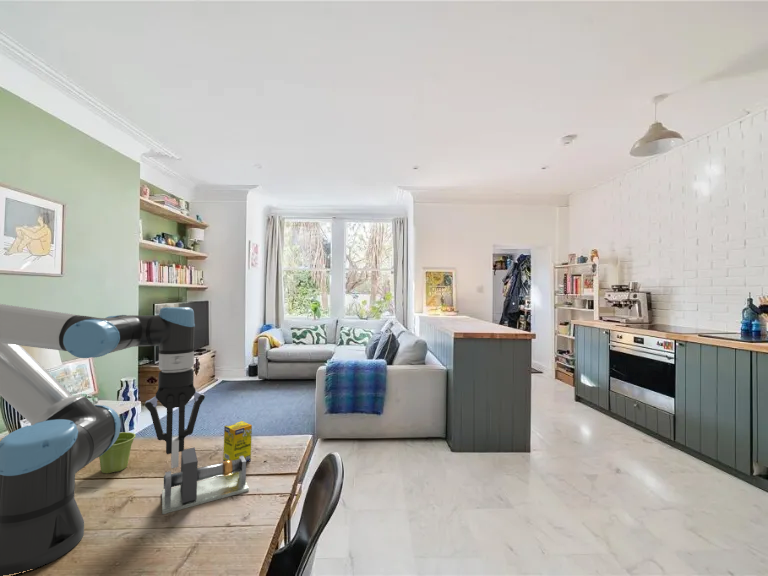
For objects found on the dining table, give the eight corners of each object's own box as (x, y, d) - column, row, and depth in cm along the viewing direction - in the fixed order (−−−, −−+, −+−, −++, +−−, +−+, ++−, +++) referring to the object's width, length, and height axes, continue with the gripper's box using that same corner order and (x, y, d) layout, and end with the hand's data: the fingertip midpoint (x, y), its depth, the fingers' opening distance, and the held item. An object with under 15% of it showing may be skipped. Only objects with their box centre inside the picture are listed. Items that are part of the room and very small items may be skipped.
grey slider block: (182, 503, 83) (183, 464, 84) (180, 485, 91) (181, 449, 91) (196, 499, 85) (197, 461, 85) (193, 482, 93) (194, 447, 93)
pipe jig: (162, 514, 81) (163, 484, 81) (162, 493, 89) (162, 466, 89) (248, 491, 91) (249, 464, 91) (241, 474, 99) (241, 450, 100)
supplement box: (233, 467, 103) (234, 430, 103) (222, 461, 107) (223, 425, 107) (251, 460, 108) (252, 424, 108) (240, 455, 111) (241, 420, 112)
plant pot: (142, 462, 106) (143, 433, 106) (115, 478, 96) (116, 446, 97) (113, 460, 107) (115, 431, 107) (84, 475, 97) (85, 444, 98)
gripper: (144, 375, 80) (141, 479, 80) (207, 369, 87) (205, 465, 87) (145, 369, 87) (143, 465, 86) (204, 364, 94) (202, 453, 93)
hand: (174, 465), depth 86 cm, fingers closed
